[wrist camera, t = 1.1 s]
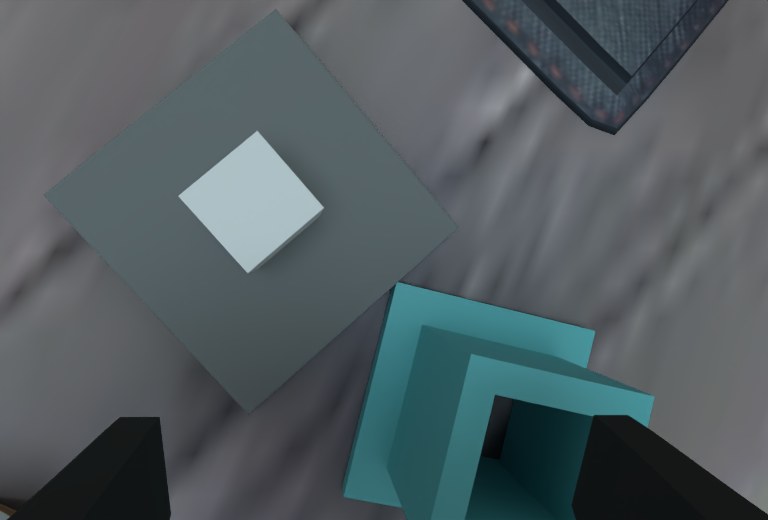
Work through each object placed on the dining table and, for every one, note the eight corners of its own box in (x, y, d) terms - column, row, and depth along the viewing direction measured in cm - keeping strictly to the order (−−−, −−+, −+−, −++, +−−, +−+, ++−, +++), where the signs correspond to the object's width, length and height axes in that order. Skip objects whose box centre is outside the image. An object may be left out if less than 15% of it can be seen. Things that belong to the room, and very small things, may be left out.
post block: (451, 228, 22) (496, 221, 17) (250, 406, 21) (235, 455, 16) (277, 20, 20) (269, -53, 16) (56, 197, 19) (-27, 179, 15)
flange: (584, 328, 22) (706, 360, 16) (537, 524, 22) (640, 642, 16) (393, 280, 21) (436, 293, 15) (341, 487, 21) (361, 598, 14)
